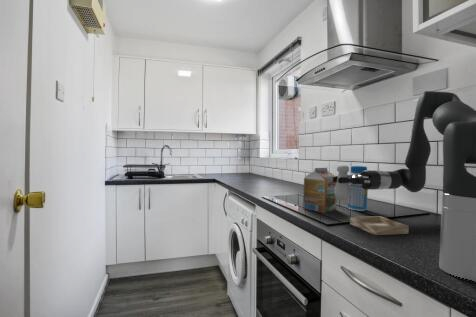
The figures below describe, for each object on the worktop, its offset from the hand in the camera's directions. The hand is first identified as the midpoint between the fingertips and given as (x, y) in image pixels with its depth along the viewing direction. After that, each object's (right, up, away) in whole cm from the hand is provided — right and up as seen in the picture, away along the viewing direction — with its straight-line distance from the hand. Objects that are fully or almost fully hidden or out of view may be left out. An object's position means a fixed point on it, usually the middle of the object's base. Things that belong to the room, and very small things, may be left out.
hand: (336, 179), depth 98 cm
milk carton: (0, -15, +19) cm, 24 cm away
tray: (+11, -16, -9) cm, 21 cm away
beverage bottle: (+18, -16, +21) cm, 32 cm away
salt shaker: (+3, -8, +1) cm, 8 cm away
